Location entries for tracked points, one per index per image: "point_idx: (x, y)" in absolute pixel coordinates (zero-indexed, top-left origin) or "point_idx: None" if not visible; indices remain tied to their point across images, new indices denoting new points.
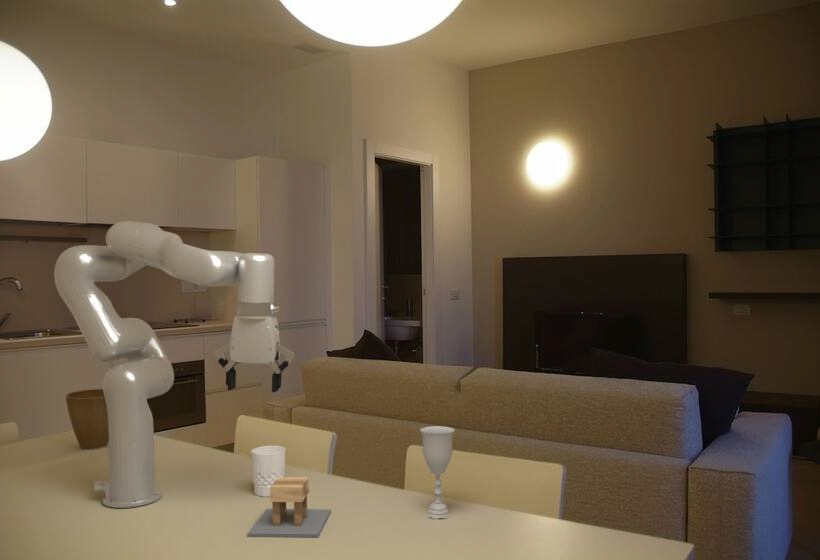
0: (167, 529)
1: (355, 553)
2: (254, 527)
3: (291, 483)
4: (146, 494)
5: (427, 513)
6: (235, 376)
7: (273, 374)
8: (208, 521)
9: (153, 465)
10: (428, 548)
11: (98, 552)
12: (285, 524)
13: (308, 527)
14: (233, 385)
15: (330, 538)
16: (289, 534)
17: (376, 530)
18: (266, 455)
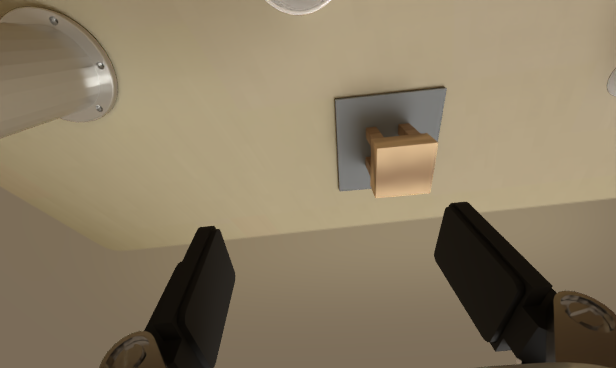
0: (226, 181)
1: None
2: (342, 173)
3: (409, 178)
4: (95, 86)
5: (613, 80)
6: (201, 282)
7: (496, 346)
8: (263, 149)
9: (40, 65)
10: (562, 192)
11: None
12: None
13: None
14: (223, 264)
15: (444, 181)
16: None
17: (509, 150)
18: (310, 12)
